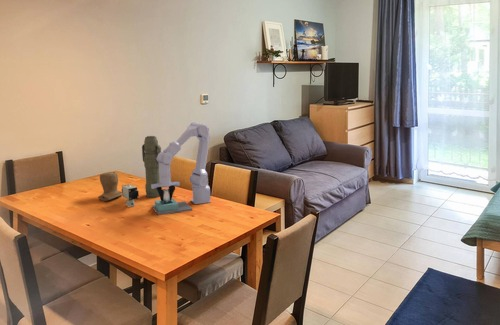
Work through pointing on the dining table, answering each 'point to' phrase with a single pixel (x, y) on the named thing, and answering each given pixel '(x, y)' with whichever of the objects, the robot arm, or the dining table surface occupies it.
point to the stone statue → (151, 165)
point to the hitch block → (170, 207)
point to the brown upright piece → (109, 186)
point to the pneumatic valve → (130, 194)
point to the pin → (166, 196)
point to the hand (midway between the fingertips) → (166, 200)
